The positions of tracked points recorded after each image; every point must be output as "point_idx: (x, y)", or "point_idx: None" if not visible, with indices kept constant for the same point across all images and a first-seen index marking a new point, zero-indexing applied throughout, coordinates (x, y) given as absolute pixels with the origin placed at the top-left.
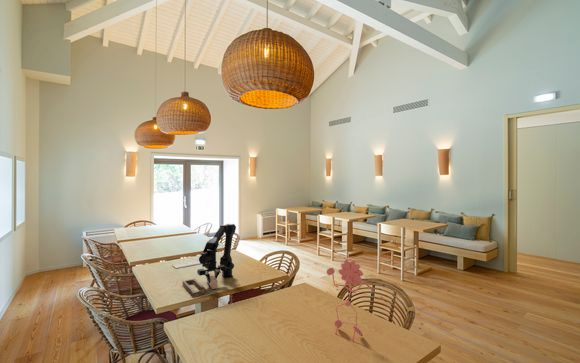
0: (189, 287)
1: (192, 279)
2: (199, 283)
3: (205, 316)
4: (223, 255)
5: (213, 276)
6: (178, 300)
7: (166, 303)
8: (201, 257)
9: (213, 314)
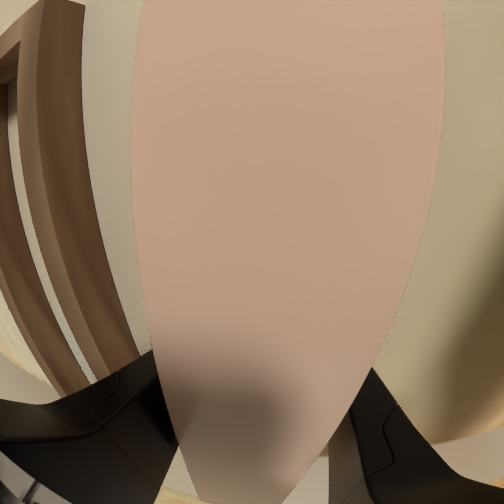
0: (11, 307)
1: (16, 35)
2: (62, 269)
3: (162, 491)
4: None
5: (298, 441)
6: (31, 363)
7: (5, 347)
8: None
9: (187, 499)
